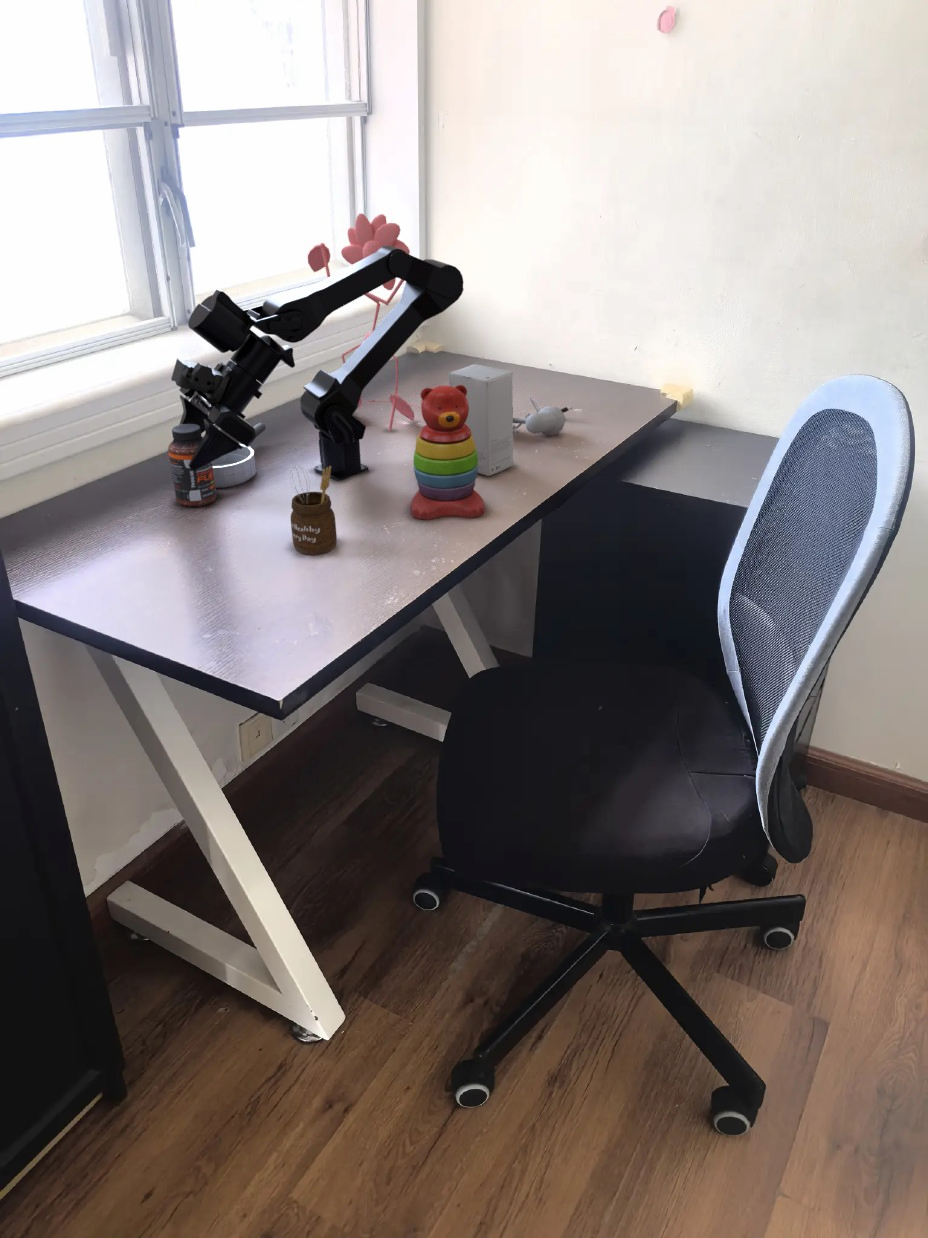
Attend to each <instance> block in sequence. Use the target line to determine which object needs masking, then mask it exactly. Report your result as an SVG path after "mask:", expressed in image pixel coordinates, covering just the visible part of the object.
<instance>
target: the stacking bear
mask: <svg viewBox="0 0 928 1238" xmlns="http://www.w3.org/2000/svg"><path fill="white" fill-rule="evenodd" d="M466 394H467V389H466V388H465V386H463V385H457V386H456V387H452V386H449V385H437V386H434V387H432V388H431V387H424V388H423V389H422V390H421V391H420V398H421V405H420V410H421V411H420V412H421V415H422V419H423V421H424V422H425V425H424V426H423V427H422V428H421V430H420V432H419V433H420V434H419V433H418V434H419V435H417V437H416V441H415V442H416V443H415V449H414V452H413V472H414V477H415V480H416V482H417V483H416V484H417V487H418V491H417V492H416V493H415V494H414V495H413V497H412V499H411V502H410V514H411V516H412V517H413V518H415V519H419V520H434V519H436V518H440V517H447V516H453V517H461V518H467V519H469V518H470V519H471V518H478V517H480V516H483V515H484V514H485V512H486V508H485V503H484V500H483V498H482V497H481V495H480V494H479V493H478V492H477V491H476V490H475V486H476V482H477V477H478V473H477V471H478V456H477V450H476V448H475V442H474V439H473V436H472V434H471V430H470V428H469V427H468V426H467V425H466V424H464V423H465V422H466V420H467V417H468V413H469V405H468V401H467V398H466Z"/></svg>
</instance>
